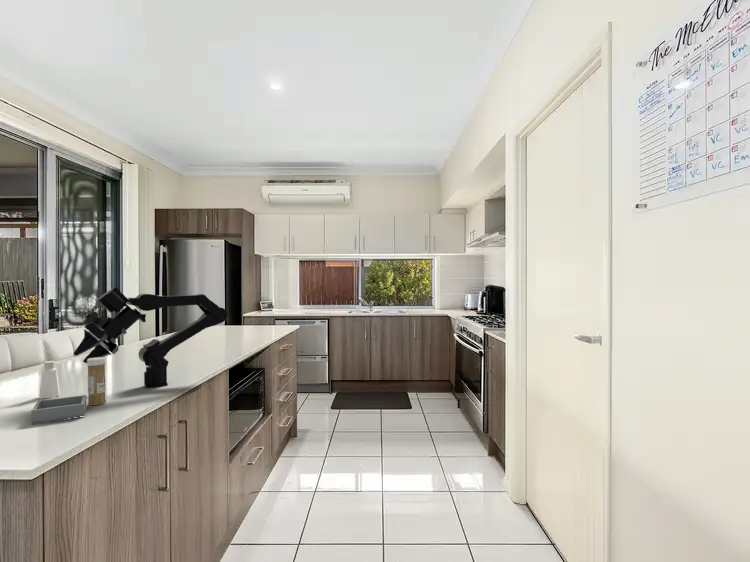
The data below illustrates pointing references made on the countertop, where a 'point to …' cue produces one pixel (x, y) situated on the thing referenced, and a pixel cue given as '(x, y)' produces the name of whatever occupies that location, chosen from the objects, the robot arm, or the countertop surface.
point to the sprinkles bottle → (96, 380)
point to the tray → (58, 409)
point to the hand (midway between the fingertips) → (79, 358)
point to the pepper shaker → (49, 381)
